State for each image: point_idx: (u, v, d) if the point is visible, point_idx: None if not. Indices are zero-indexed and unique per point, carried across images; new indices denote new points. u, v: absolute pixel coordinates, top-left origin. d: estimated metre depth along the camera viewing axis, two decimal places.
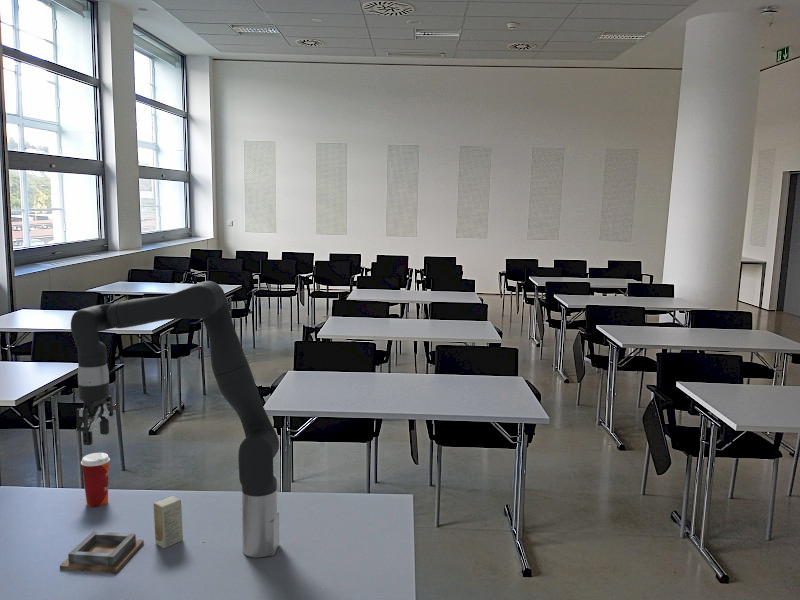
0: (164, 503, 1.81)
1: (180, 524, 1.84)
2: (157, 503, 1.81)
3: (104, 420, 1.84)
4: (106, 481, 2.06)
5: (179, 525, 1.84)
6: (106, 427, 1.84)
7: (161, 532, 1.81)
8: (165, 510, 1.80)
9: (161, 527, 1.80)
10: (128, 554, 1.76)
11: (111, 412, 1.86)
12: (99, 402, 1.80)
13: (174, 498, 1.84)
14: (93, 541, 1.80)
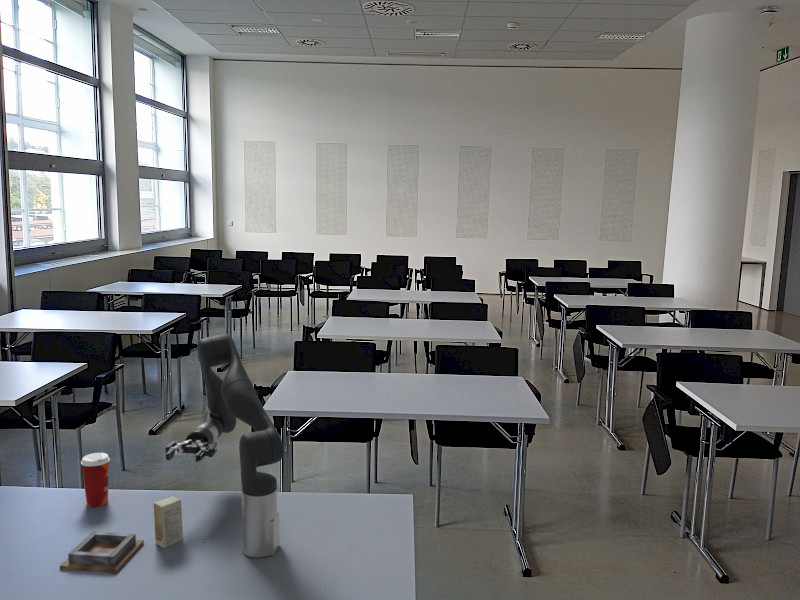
0: (164, 503, 1.81)
1: (180, 524, 1.84)
2: (157, 503, 1.81)
3: None
4: (106, 481, 2.06)
5: (179, 525, 1.84)
6: None
7: (161, 532, 1.81)
8: (165, 510, 1.80)
9: (161, 527, 1.80)
10: (128, 554, 1.76)
11: (210, 448, 1.97)
12: None
13: (174, 498, 1.84)
14: (93, 541, 1.80)
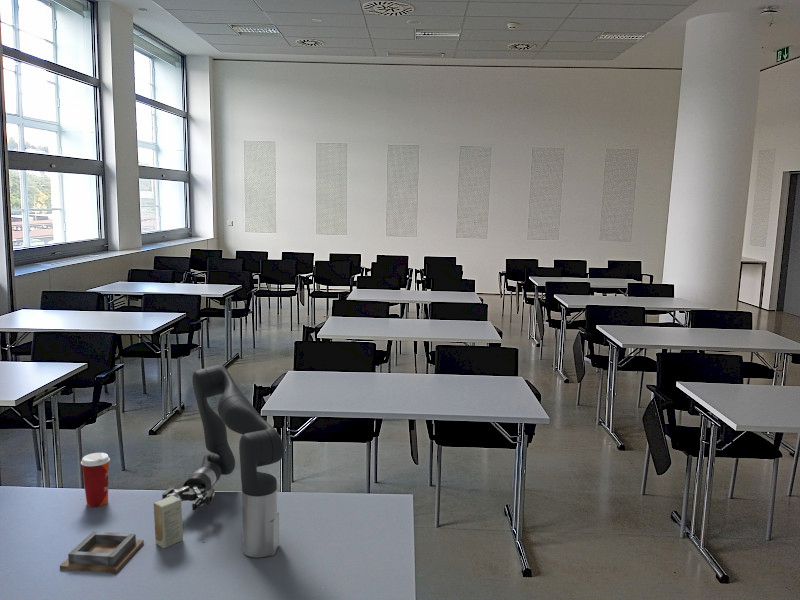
0: (164, 503, 1.81)
1: (180, 524, 1.84)
2: (157, 503, 1.81)
3: None
4: (106, 481, 2.06)
5: (179, 525, 1.84)
6: None
7: (161, 532, 1.81)
8: (165, 510, 1.80)
9: (161, 527, 1.80)
10: (128, 554, 1.76)
11: (207, 495, 1.96)
12: None
13: (174, 498, 1.84)
14: (93, 541, 1.80)
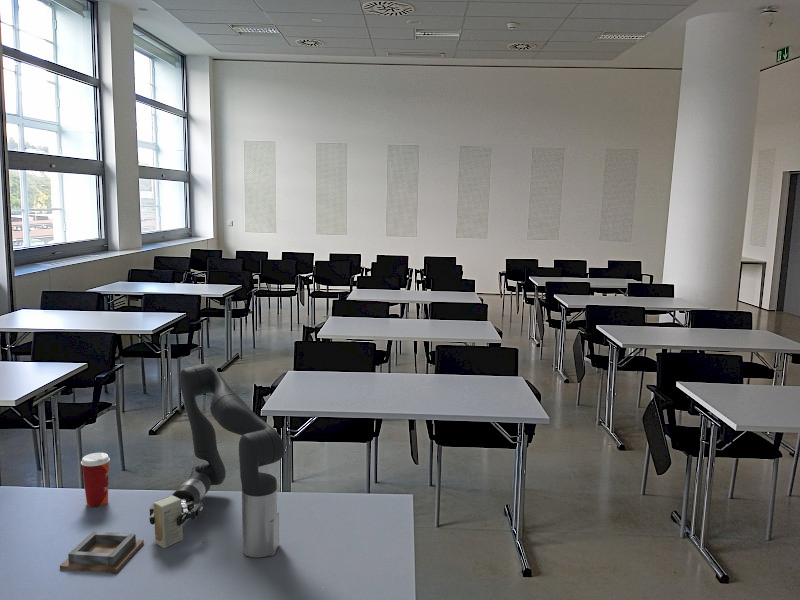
0: (164, 503, 1.81)
1: None
2: (157, 503, 1.81)
3: None
4: (106, 481, 2.06)
5: None
6: None
7: (161, 532, 1.81)
8: (165, 509, 1.80)
9: (161, 527, 1.80)
10: (128, 554, 1.76)
11: (192, 509, 1.86)
12: None
13: (174, 498, 1.84)
14: (93, 541, 1.80)
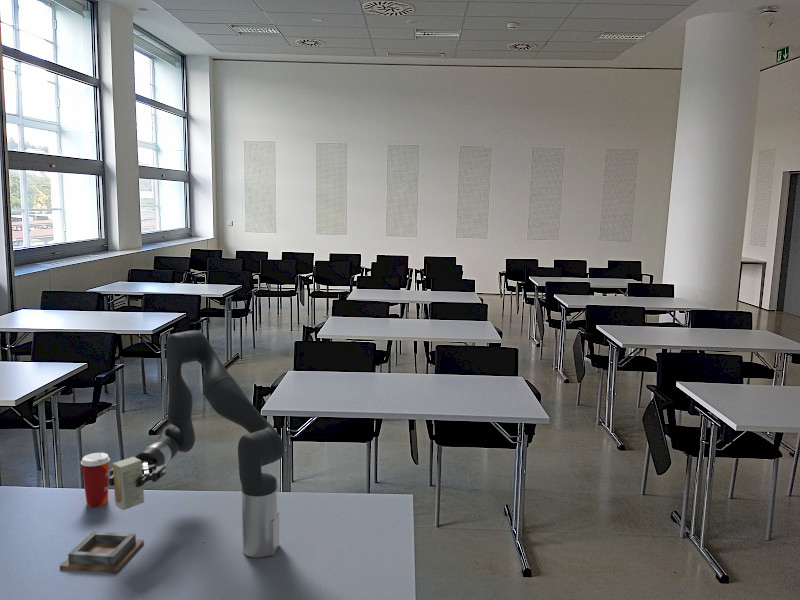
0: (123, 464, 1.75)
1: (141, 486, 1.79)
2: (116, 464, 1.75)
3: None
4: (106, 481, 2.06)
5: None
6: None
7: (120, 493, 1.75)
8: (124, 470, 1.74)
9: (120, 488, 1.74)
10: (128, 554, 1.76)
11: (154, 471, 1.80)
12: None
13: (135, 459, 1.78)
14: (93, 541, 1.80)
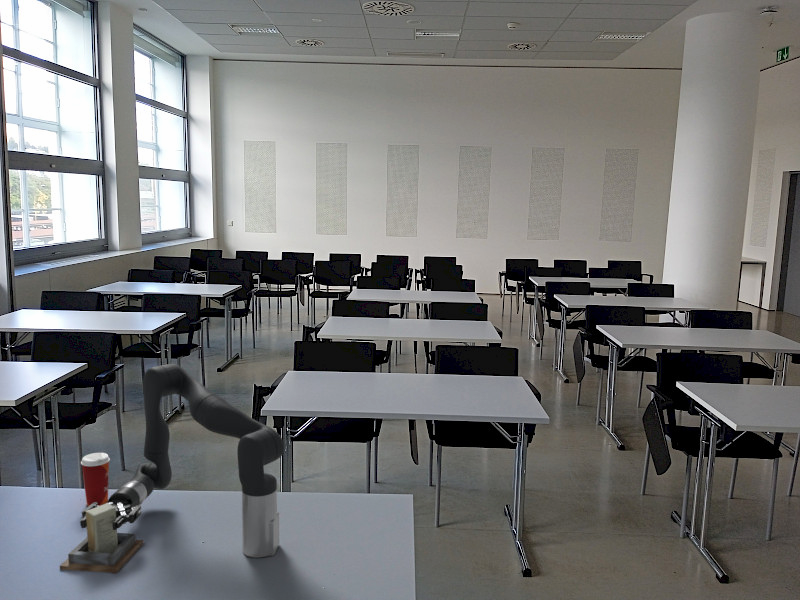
0: (96, 512, 1.73)
1: (115, 533, 1.77)
2: (89, 511, 1.73)
3: None
4: (106, 481, 2.06)
5: (113, 534, 1.76)
6: None
7: (93, 542, 1.73)
8: (98, 518, 1.72)
9: (94, 537, 1.72)
10: (128, 554, 1.76)
11: (131, 512, 1.78)
12: None
13: (108, 506, 1.76)
14: None
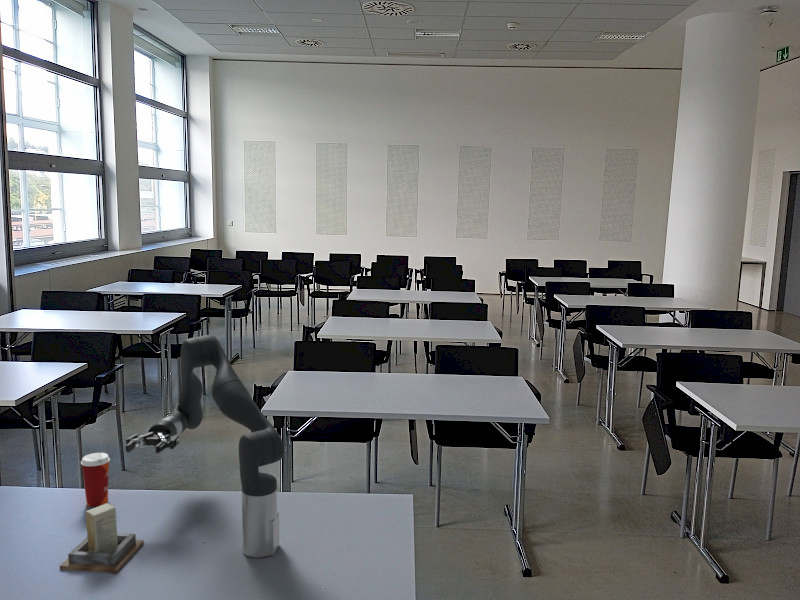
0: (96, 512, 1.73)
1: (115, 533, 1.77)
2: (89, 511, 1.73)
3: None
4: (106, 481, 2.06)
5: (113, 534, 1.76)
6: None
7: (93, 542, 1.73)
8: (97, 518, 1.72)
9: (94, 537, 1.72)
10: (128, 554, 1.76)
11: (171, 439, 1.95)
12: None
13: (108, 506, 1.76)
14: None
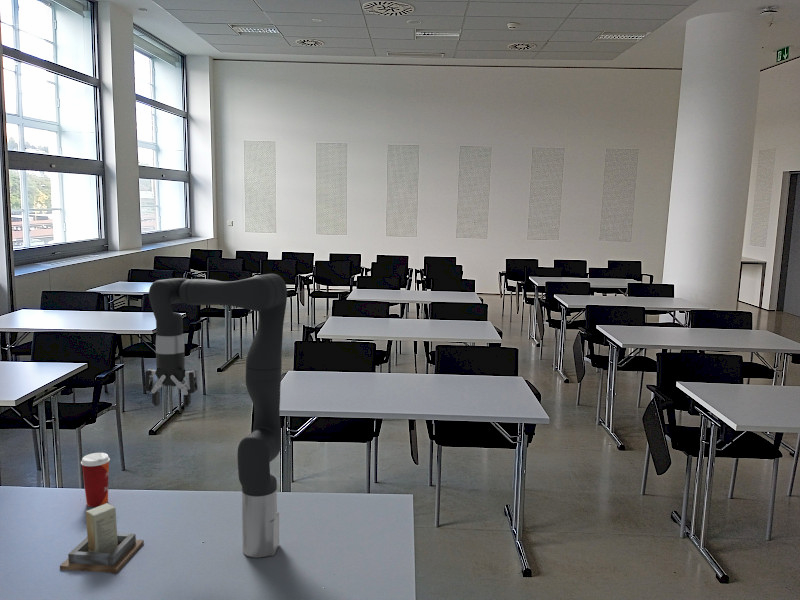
0: (96, 512, 1.73)
1: (115, 533, 1.77)
2: (89, 511, 1.73)
3: None
4: (106, 481, 2.06)
5: (113, 534, 1.76)
6: None
7: (93, 542, 1.73)
8: (97, 518, 1.72)
9: (94, 537, 1.72)
10: (128, 554, 1.76)
11: (191, 388, 1.86)
12: (170, 371, 1.86)
13: (108, 506, 1.76)
14: None
